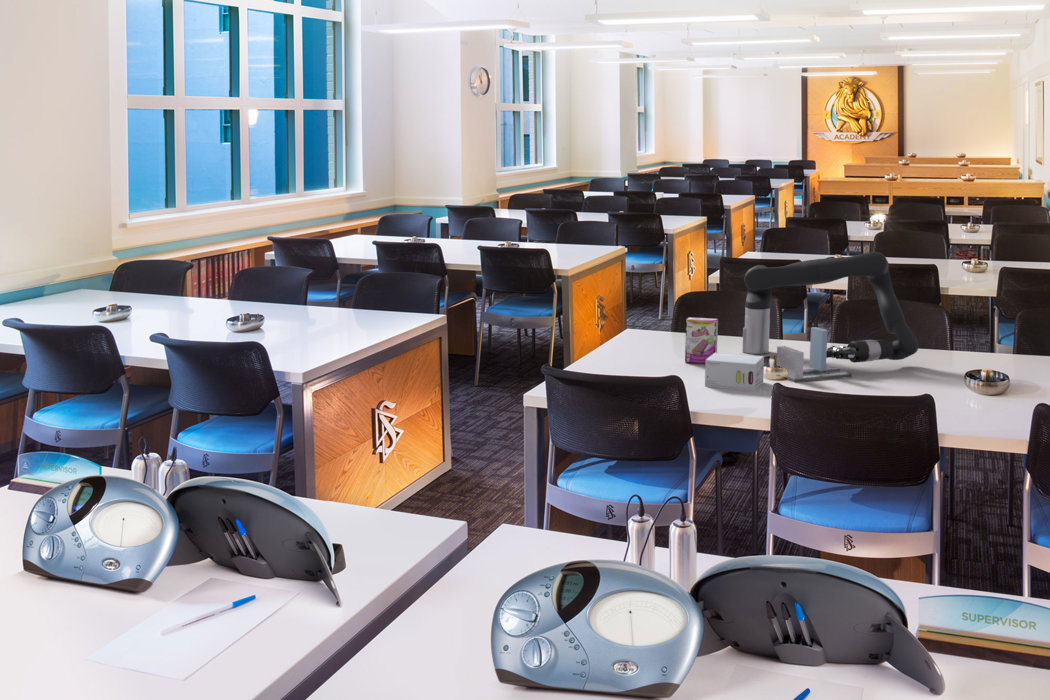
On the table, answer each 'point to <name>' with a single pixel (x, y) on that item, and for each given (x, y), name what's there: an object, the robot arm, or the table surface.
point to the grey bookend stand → (794, 367)
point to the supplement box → (734, 371)
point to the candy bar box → (700, 339)
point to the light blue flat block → (818, 349)
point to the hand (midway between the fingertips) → (820, 354)
